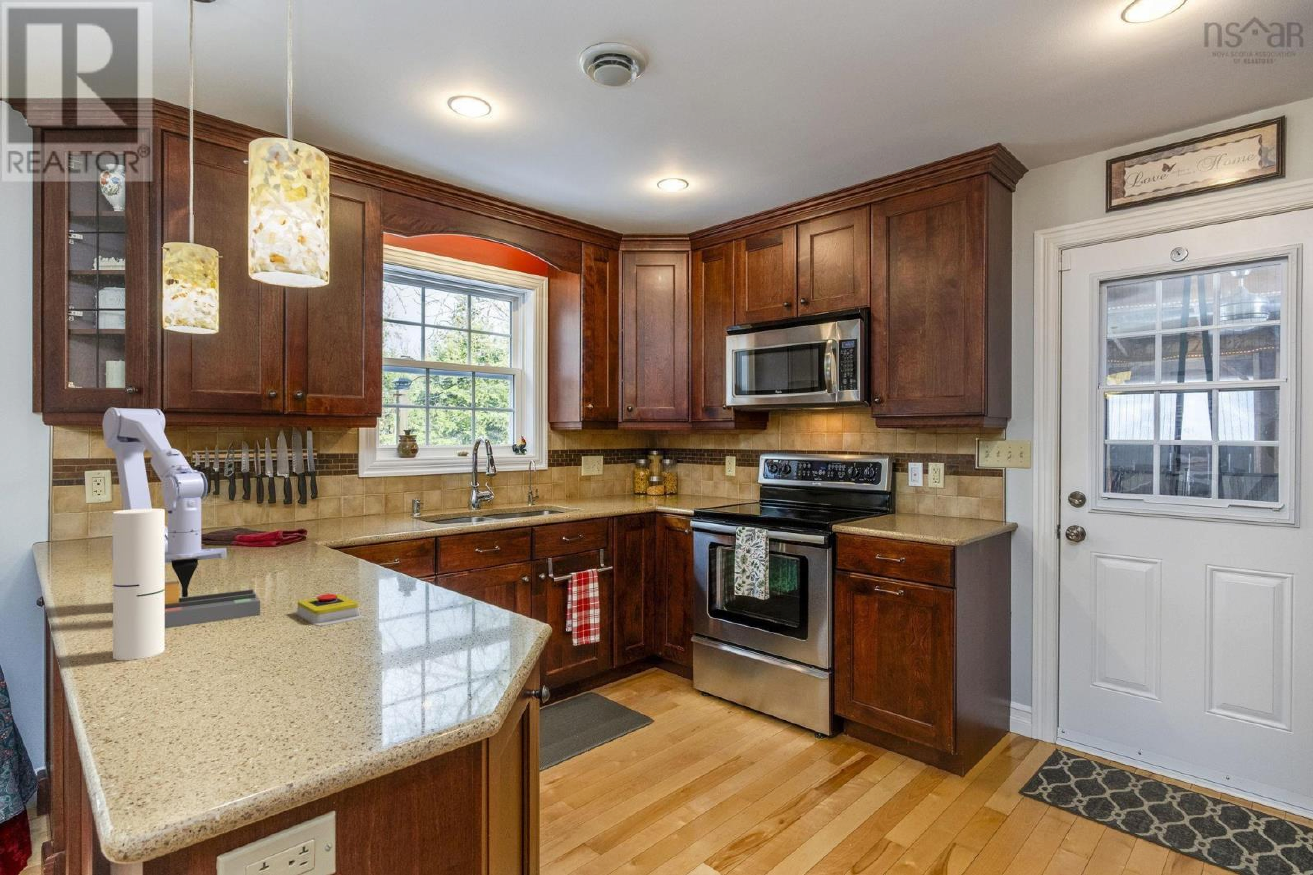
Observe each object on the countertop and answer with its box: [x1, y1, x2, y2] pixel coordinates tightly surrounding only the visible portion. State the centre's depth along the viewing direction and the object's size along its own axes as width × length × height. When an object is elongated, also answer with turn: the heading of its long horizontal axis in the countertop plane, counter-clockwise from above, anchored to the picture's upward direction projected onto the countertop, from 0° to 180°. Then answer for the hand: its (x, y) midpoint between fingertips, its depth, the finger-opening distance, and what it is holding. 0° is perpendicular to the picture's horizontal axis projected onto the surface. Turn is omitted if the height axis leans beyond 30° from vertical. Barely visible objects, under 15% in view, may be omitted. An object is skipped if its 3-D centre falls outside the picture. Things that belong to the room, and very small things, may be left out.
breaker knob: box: [165, 580, 180, 604], centre depth 137 cm, size 3×3×4 cm
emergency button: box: [294, 593, 365, 627], centre depth 142 cm, size 9×4×15 cm
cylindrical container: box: [112, 508, 166, 661], centre depth 117 cm, size 7×7×25 cm
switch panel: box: [165, 588, 261, 629], centre depth 141 cm, size 12×18×4 cm, turn 127°
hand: (184, 596), depth 139 cm, fingers closed
